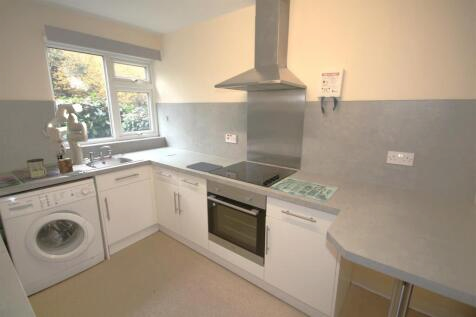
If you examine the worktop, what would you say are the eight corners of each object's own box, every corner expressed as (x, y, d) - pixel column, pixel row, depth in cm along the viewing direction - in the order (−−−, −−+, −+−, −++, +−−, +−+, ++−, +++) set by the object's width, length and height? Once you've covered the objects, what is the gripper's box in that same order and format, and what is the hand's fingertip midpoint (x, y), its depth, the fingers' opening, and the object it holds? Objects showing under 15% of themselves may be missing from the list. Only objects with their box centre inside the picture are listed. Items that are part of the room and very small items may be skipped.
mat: (77, 170, 196) (77, 170, 196) (89, 171, 193) (89, 171, 192) (61, 174, 183) (61, 174, 183) (74, 175, 179) (74, 175, 179)
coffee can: (28, 177, 178) (24, 160, 175) (43, 174, 187) (39, 158, 184) (34, 178, 174) (30, 161, 171) (49, 175, 183) (46, 159, 180)
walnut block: (69, 171, 195) (66, 158, 192) (73, 171, 194) (71, 158, 191) (59, 173, 187) (57, 160, 185) (64, 173, 186) (61, 160, 184)
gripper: (67, 141, 188) (71, 162, 192) (55, 141, 192) (59, 161, 196) (58, 142, 181) (62, 164, 184) (45, 142, 185) (49, 163, 188)
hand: (60, 162), depth 190 cm, fingers closed
